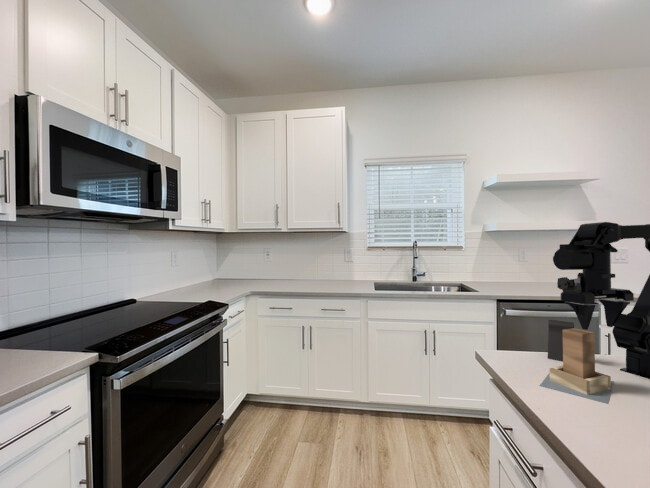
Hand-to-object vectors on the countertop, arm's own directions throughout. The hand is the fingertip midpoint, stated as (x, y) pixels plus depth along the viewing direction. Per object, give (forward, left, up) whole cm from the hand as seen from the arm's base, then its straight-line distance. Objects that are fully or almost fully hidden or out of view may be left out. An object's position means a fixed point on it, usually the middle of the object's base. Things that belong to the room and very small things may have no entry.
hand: (597, 328), depth 83 cm
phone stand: (-3, -12, -13) cm, 18 cm away
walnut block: (+12, +4, -12) cm, 17 cm away
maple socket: (+12, +4, -12) cm, 17 cm away
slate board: (+12, +3, -13) cm, 18 cm away
